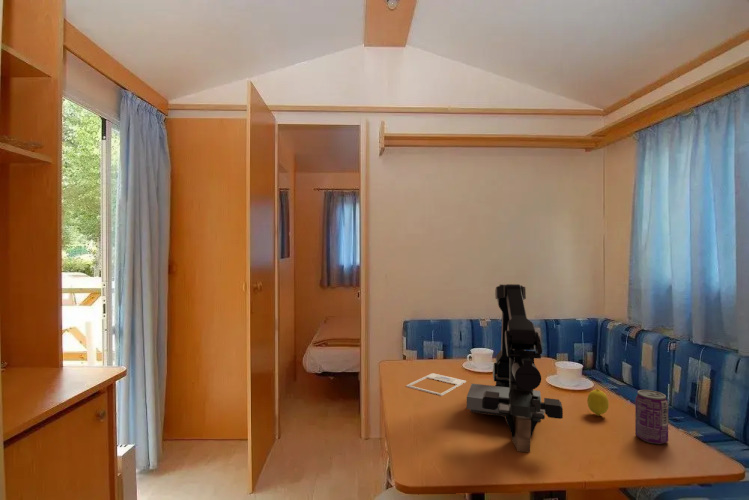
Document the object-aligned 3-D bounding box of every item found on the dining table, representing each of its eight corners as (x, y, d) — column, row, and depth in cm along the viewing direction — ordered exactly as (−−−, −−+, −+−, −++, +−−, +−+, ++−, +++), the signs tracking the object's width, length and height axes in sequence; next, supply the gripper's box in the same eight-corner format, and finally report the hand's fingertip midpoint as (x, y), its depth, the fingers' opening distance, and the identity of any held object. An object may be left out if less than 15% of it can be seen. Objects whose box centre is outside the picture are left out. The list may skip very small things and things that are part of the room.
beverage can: (662, 435, 108) (662, 390, 108) (672, 448, 101) (672, 400, 101) (632, 431, 111) (632, 387, 110) (639, 443, 104) (639, 397, 104)
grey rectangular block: (540, 416, 121) (540, 390, 121) (541, 433, 110) (541, 405, 110) (471, 407, 128) (471, 383, 128) (466, 422, 117) (466, 396, 116)
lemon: (607, 413, 122) (607, 387, 122) (609, 420, 117) (609, 393, 117) (586, 410, 125) (586, 384, 125) (587, 417, 120) (588, 390, 120)
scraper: (512, 419, 118) (513, 392, 117) (530, 452, 100) (531, 420, 100) (501, 419, 118) (502, 391, 118) (517, 451, 100) (518, 419, 100)
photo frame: (466, 380, 151) (441, 393, 138) (466, 383, 151) (441, 397, 138) (432, 372, 161) (406, 384, 147) (432, 375, 161) (406, 387, 147)
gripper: (479, 382, 98) (480, 446, 98) (564, 391, 92) (564, 460, 92) (484, 369, 108) (484, 427, 109) (560, 376, 102) (560, 438, 102)
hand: (521, 437), depth 102 cm, fingers closed on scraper, 3 cm apart
